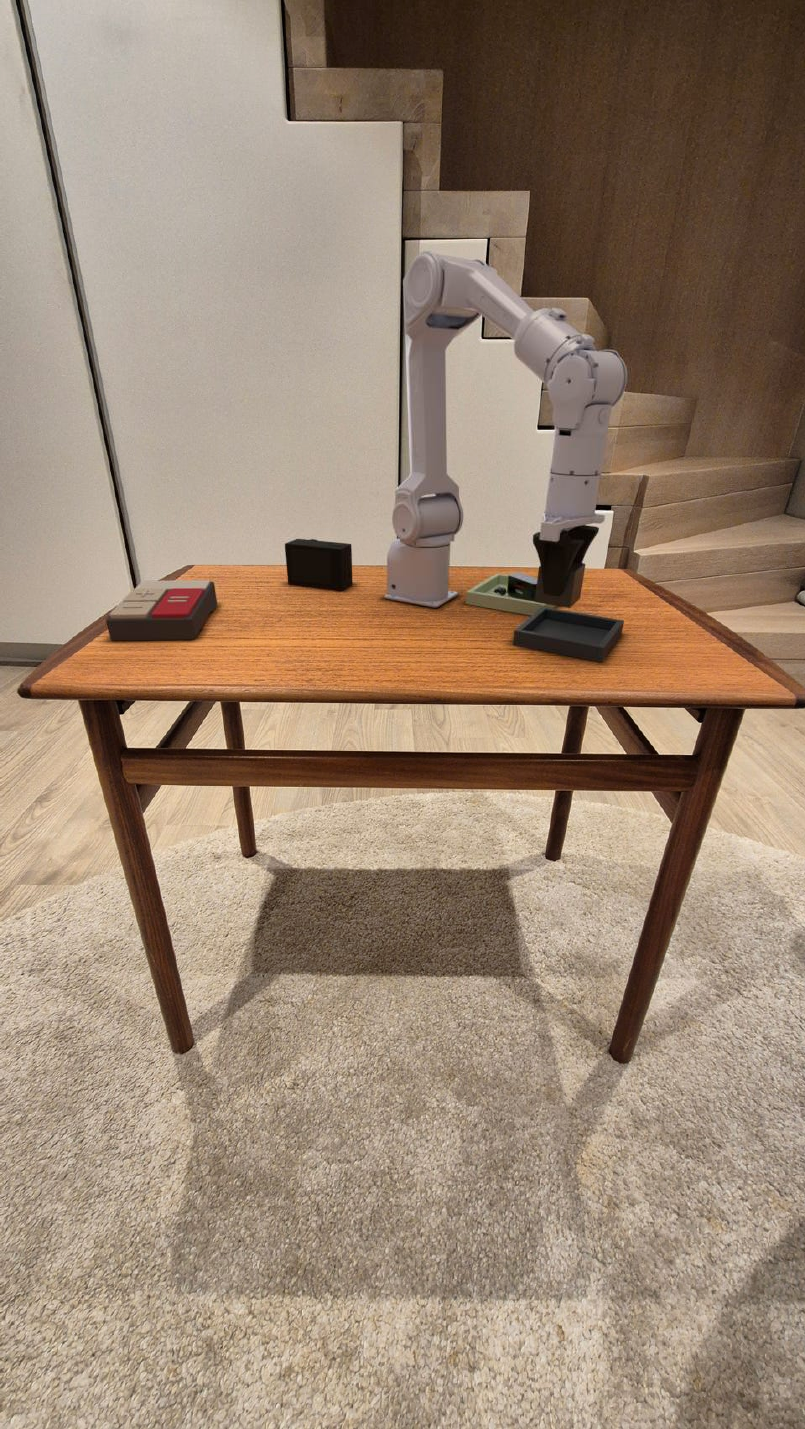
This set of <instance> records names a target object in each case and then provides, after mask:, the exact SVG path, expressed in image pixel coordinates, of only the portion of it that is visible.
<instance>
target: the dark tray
mask: <svg viewBox="0 0 805 1429" xmlns="http://www.w3.org/2000/svg"><path fill="white" fill-rule="evenodd" d="M624 624H625V620H622V619H618V618H617V619H616V618H612V617H605V616H599V615H593V614H588V613H581V612H576V611H570V610H565V609H558V608H547V607H541V608H540V609H539V610H538V611H537V612H536V613H534V614H533V615H532V616H529V617H528V618H526V620H525V621H523V623H521V624H520V625H519V626H518V627H517V628H515V630H514V631H513V638H512V639H513V640H512V645H513V646H518V647H523V648H528V649H531V650H537V651H541V652H548V653H552V654H558V655H562V656H567V657H570V658H571V657H572V658H576V659H580V660H581V659H582V660H587V661H592V662H596V663H602V662H603V661H604V660H605V659H606V657H607V656H608V654H609V653H610V652H611V650H612V648H613V647H614V646H615V645H616V643H617V641H618V640H619V639H620V637H621V635H622V634H623V631H624V630H623V629H624Z"/></svg>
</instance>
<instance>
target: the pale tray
mask: <svg viewBox="0 0 805 1429" xmlns="http://www.w3.org/2000/svg"><path fill="white" fill-rule="evenodd" d="M508 575H509V574H503V573H495V574H493V575H491V576H490V577H488V578H486V579H485V580H483V581H482V582H480V583H478V584H477V585H475V586H473V587H472V588H470V589H469V590H467V591H466V592H465V605H469V606H475V607H479V608H480V607H482V608H486V609H491V610H498V611H503V612H509V613H513V614H519V615H524V616H529V617H531V616H532V615H533V614H534V613H536V612H537V611H538V610H539V609H540V608H541V607H547V608H553V609H556V607H557V606H555V605H549V604H543V603H537V602H534V601H528V600H522V599H519V598H516V597H513V596H511V595H509V594H508V593H507V586H508ZM498 586H503V587H504V588H505V589H506V594H505V595H500V594H498V592H497V594H496V593H494V590H495V589H497V588H498Z"/></svg>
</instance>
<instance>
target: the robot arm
mask: <svg viewBox="0 0 805 1429" xmlns="http://www.w3.org/2000/svg"><path fill="white" fill-rule="evenodd" d="M402 286H403V288H402V289H403V290H402V291H403V292H402V293H403V314H404V315H403V320H404V333H405V338H404V339H405V340H404V341H405V367H406V368H405V370H406V396H407V397H406V398H407V400H406V401H407V423H408V424H407V425H408V427H407V428H408V457H409V475H408V477H406V479H405V480H404V481H403V482H401V483H400V484H399V486H397V488H396V489H395V490H394V496H395V497H394V499H395V501H394V506H393V510H392V516H391V520H392V528H393V531H394V533H395V535H396V536H397V539H395V540H393V541H392V542H391V544H390V546H389V548H388V551H387V556H386V594H385V595H384V599H386V600H392V601H397V602H401V603H408V604H414V605H419V606H425V607H429V608H435V609H436V608H439V607H440V606H442V605H444V604H445V603H447V602H449V601H450V600H452V599H454V598H455V597H457V596H458V595H459V592H457V591H453V590H449V586H450V585H449V583H450V565H451V564H450V563H451V544H452V542H455V538H456V537H455V536H456V535H457V534H458V533H459V532H460V531H461V529H462V526H463V523H464V509H463V506H462V503H461V498H460V487H459V485H458V484H457V483H456V481H454V479H453V478H452V477H451V476H450V475H449V474H448V469H447V468H448V467H447V463H448V462H447V459H448V458H447V457H448V456H447V454H448V453H447V375H446V374H447V372H446V370H447V369H446V367H447V366H446V365H447V364H446V351H447V348H448V347H449V346H450V344H451V343H452V341H453V340H454V339H456V338H458V337H459V336H460V335H461V334H462V333H463V332H465V331H466V330H467V329H468V328H469V327H470V326H472V325H473V324H474V323H475V322H476V321H477V320H478V319H480V317H483V318H485V319H486V320H487V321H488V322H490V323H491V324H492V325H494V326H495V327H496V328H498V330H500V331H501V332H502V333H504V334H505V335H507V337H509V338H510V339H511V340H513V351H514V355H515V358H516V359H517V360H518V361H519V362H520V363H521V364H522V365H523V366H524V367H525V368H526V369H528V371H529V372H531V373H532V374H533V375H534V376H535V377H536V378H537V379H539V381H541V382H542V383H543V384H544V385H545V386H546V387H547V395H548V398H549V402H550V403H551V406H552V411H553V413H552V420H551V422H552V423H553V427H554V430H553V431H554V432H553V440H552V447H551V457H550V465H549V474H548V483H547V491H546V498H545V509H544V510H543V512H542V517H541V518H542V521H541V523H540V531H537V532H535V533H533V534H532V544H533V547H535V551H536V553H537V556H538V559H539V566H541V572H542V583H543V590H544V594H547V595H554V596H561V595H562V593H563V591H564V588H565V585H566V582H567V579H568V575H569V571H570V568H571V565H572V563H573V562H577V563H584V562H583V561H584V558H585V556H586V554H587V551H588V550H589V548H590V546H591V544H592V543H593V541H594V539H595V538H596V536H597V535H598V534H599V531H600V527H598V526H595V525H591V524H602V523H604V522H605V518H606V515H604V514H599V513H596V507H597V502H598V495H599V489H600V483H601V477H602V470H603V463H604V458H605V451H606V445H607V440H608V433H609V425H610V419H611V413H612V409H613V407H614V406H616V404H618V402H619V401H620V400H621V398H622V397H623V395H624V393H625V391H626V387H627V383H628V369H627V366H626V363H625V361H624V360H623V358H622V357H621V356H620V354H619V352H618V351H617V350H614V349H601V350H597V349H596V346H595V345H594V343H595V338H594V337H592V336H591V335H590V334H585V333H583V334H581V333H580V332H578V330H577V329H575V328H574V327H573V326H572V325H570V324H569V323H568V322H567V321H566V320H567V317H568V313H567V312H566V311H564V310H563V309H562V308H557V307H551V308H547V307H545V308H541V309H538V310H535V311H534V310H533V309H532V308H531V306H530V305H528V303H526V301H525V300H524V299H523V298H522V297H521V296H519V294H517V293H516V292H515V290H514V289H513V288H512V287H510V285H509V284H507V283H506V281H504V279H503V278H501V277H500V275H498V270H497V269H496V268H494V267H492V266H489V265H488V264H487V263H486V262H485V261H483V260H481V259H478V258H477V259H468V258H462V257H457V256H450V255H445V254H440V253H435V252H433V251H431V250H423V251H420V252H418V254H417V255H416V256H415V257H414V259H413V260H412V262H411V264H410V265H409V268H408V270H407V272H406V274H405V275H404V278H403V280H402ZM427 495H429V496H427ZM430 495H432V496H430Z"/></svg>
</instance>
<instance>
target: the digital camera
mask: <svg viewBox="0 0 805 1429" xmlns="http://www.w3.org/2000/svg"><path fill="white" fill-rule="evenodd" d="M352 550H353V548H352V543H347V542H345V543H344V542H336V541H326V540H325V541H324V540H318V539H314V538H311V539H306V538H296V539H292V540H291V541H288V542H285V543H284V552H285V553H284V554H285V562H286V564H285V565H286V574H287V575H286V577H287V585H294V586H299V587H308V588H315V589H323V590H332V591H340V592H343V591H345V590H347V588H349V587H351V586H352V585H354V584H353V582H354V581H353V551H352Z"/></svg>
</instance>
